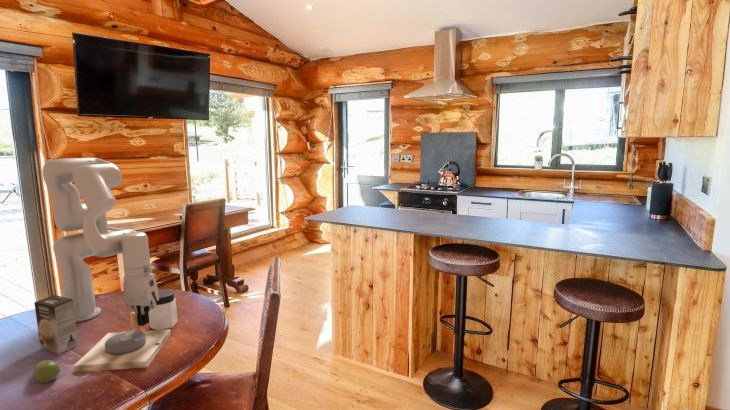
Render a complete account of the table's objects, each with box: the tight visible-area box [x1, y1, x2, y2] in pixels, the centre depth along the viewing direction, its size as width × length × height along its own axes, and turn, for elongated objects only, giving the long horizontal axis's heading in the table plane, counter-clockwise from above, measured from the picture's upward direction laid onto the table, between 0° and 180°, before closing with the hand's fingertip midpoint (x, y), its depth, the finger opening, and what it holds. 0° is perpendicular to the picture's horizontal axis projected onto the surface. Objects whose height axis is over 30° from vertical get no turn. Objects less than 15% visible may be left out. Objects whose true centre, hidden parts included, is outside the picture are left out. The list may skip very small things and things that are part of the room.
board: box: [73, 328, 172, 373], centre depth 128 cm, size 20×20×2 cm
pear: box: [33, 359, 61, 383], centre depth 114 cm, size 6×5×10 cm
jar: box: [148, 289, 178, 330], centre depth 145 cm, size 9×8×12 cm
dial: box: [105, 311, 146, 355], centre depth 129 cm, size 15×11×7 cm
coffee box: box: [34, 294, 79, 355], centre depth 130 cm, size 9×6×16 cm
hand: (143, 324), depth 134 cm, fingers closed
